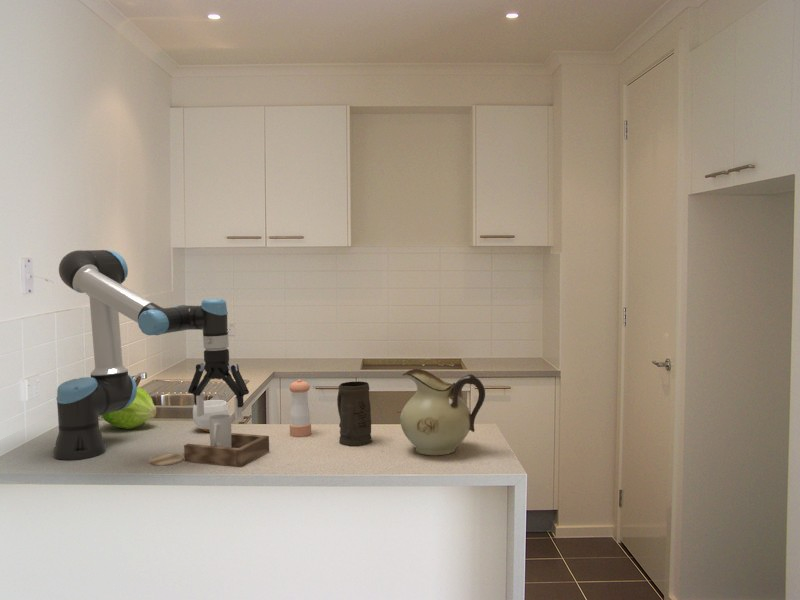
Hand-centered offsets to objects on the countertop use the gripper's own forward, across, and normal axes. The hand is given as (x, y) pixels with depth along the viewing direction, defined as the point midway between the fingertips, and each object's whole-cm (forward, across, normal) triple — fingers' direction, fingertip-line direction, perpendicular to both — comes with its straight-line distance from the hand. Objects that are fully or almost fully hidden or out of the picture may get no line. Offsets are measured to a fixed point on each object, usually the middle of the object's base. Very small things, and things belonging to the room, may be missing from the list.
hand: (219, 416), depth 217 cm
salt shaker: (+13, +12, +30) cm, 35 cm away
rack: (+12, +2, 0) cm, 12 cm away
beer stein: (+13, +32, +27) cm, 44 cm away
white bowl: (+12, -22, +27) cm, 37 cm away
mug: (+12, 0, 0) cm, 13 cm away
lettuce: (+12, -52, +22) cm, 58 cm away
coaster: (+12, -14, -9) cm, 20 cm away
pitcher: (+14, +64, +24) cm, 69 cm away
